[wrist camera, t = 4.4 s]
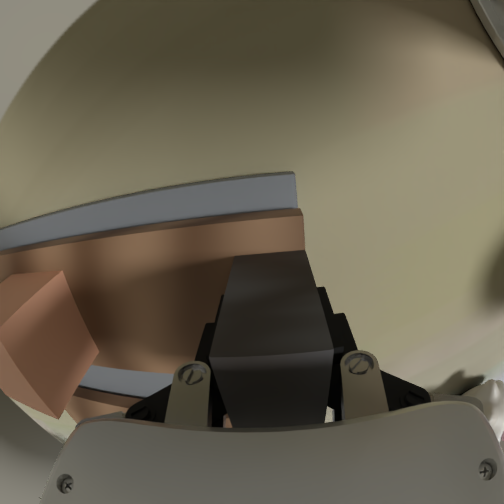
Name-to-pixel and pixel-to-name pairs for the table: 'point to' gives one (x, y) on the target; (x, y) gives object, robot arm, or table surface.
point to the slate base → (146, 213)
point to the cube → (42, 341)
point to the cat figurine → (491, 404)
